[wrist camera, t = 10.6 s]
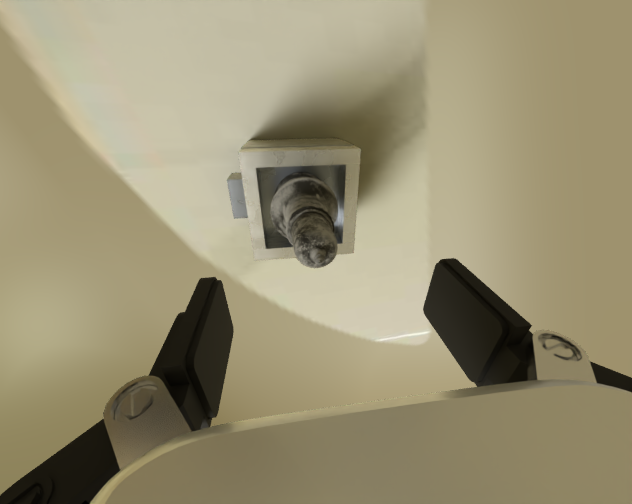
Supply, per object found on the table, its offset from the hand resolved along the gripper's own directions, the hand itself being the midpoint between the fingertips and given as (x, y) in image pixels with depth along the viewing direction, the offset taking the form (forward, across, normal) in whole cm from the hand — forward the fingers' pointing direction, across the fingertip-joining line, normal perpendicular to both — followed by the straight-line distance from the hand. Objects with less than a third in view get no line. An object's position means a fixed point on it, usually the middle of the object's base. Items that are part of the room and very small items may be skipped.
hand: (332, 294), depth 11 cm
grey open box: (+22, +1, +3) cm, 23 cm away
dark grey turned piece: (+16, 0, +1) cm, 16 cm away
